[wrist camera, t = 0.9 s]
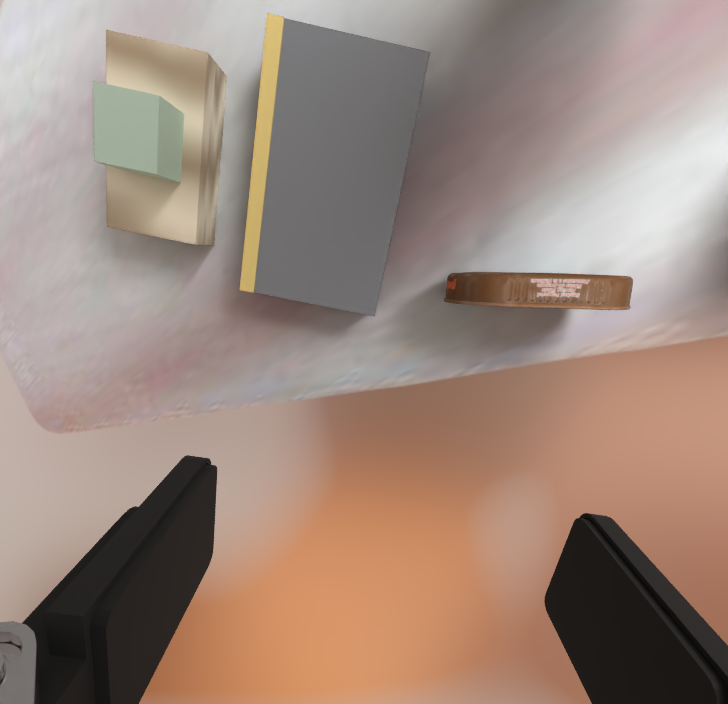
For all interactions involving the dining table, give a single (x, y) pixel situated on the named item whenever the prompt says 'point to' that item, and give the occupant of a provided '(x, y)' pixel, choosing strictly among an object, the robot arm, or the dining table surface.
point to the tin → (540, 290)
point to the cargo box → (137, 132)
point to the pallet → (200, 140)
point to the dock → (328, 163)
